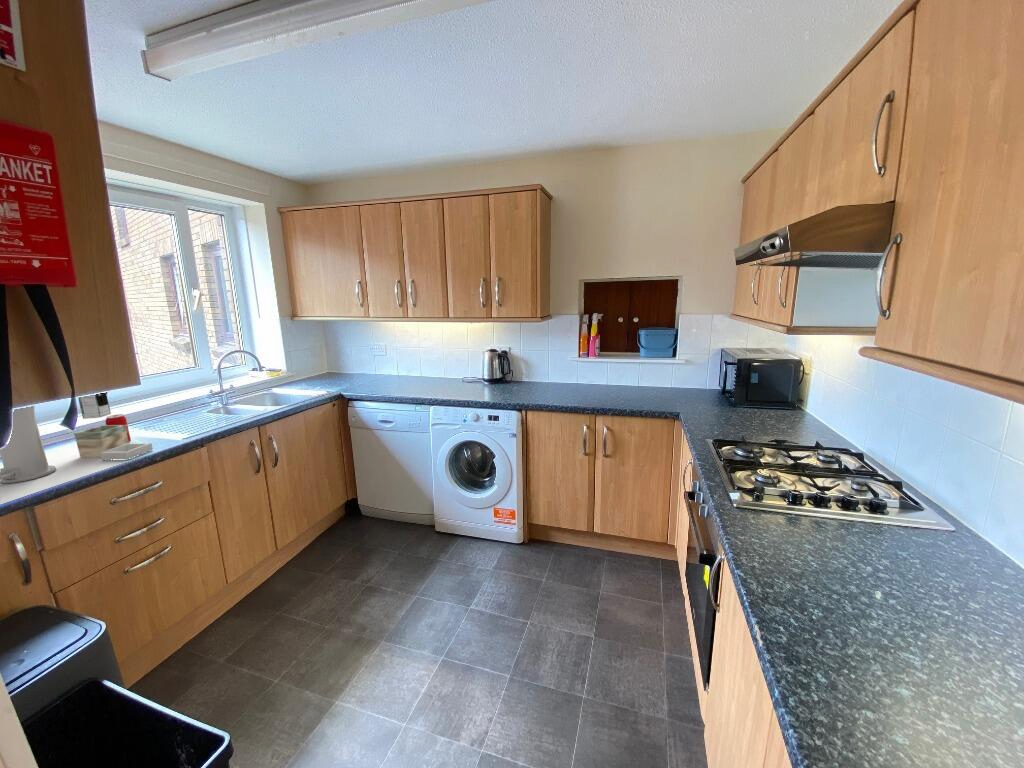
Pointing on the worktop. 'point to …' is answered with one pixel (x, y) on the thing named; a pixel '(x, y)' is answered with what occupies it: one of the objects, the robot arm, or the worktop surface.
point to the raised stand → (100, 439)
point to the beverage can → (118, 422)
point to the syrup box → (92, 407)
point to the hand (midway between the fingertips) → (94, 405)
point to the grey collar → (126, 451)
